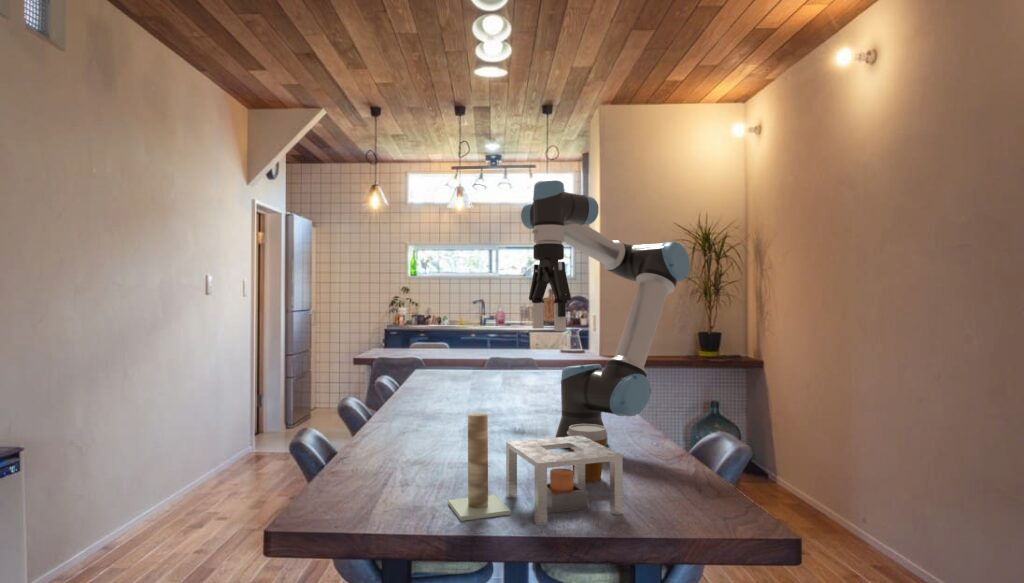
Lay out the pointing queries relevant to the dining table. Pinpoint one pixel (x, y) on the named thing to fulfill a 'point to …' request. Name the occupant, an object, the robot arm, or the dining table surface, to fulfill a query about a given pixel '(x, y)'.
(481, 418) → the rod
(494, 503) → the pad
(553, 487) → the button
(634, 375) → the robot arm
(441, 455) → the dining table surface
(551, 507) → the stand
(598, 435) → the disposable coffee cup
